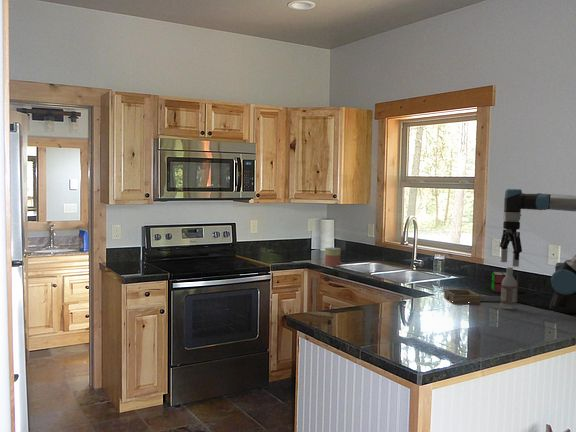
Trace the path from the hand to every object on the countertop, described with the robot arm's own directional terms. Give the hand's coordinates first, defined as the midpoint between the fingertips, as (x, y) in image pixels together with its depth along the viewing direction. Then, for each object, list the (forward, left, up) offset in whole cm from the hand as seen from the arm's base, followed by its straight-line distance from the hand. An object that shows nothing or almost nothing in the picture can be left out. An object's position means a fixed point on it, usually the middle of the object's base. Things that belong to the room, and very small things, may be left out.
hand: (509, 264), depth 269 cm
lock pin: (+15, +1, -21) cm, 26 cm away
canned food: (+132, +73, -22) cm, 152 cm away
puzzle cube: (+44, -15, -22) cm, 51 cm away
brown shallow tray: (+15, +18, -22) cm, 32 cm away
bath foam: (0, 0, -22) cm, 22 cm away
